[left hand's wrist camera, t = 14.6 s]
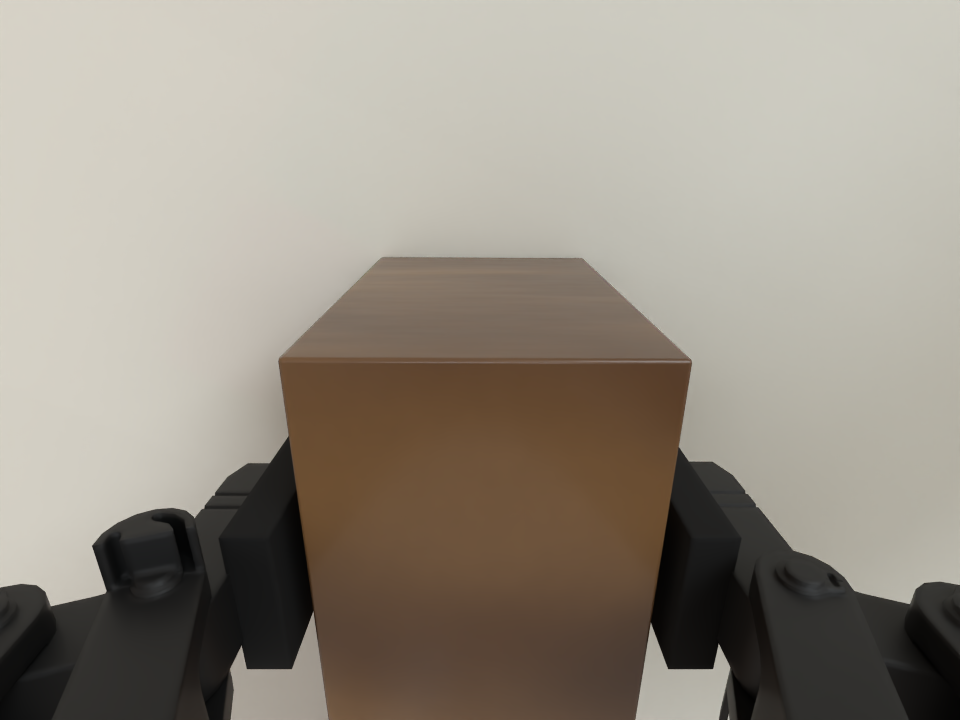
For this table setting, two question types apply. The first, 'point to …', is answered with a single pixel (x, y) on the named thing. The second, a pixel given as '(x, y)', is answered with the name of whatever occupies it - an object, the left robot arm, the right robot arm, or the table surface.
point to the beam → (483, 488)
